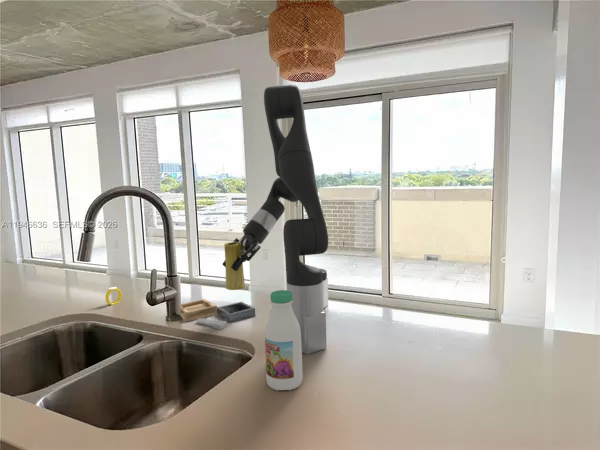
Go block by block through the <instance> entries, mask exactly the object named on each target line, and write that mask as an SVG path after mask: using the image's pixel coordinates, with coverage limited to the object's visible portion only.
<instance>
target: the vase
mask: <svg viewBox="0 0 600 450" xmlns="http://www.w3.org/2000/svg"><path fill="white" fill-rule="evenodd" d="M223 246H224V248H223V249H224V257H225V259H224V261H225V262H226V267H225V289H226V290H228V291H237V290H242V289H245V287H246V285H245V284H246V283H245V276H244V275H245V274H244V265H243V263H244V262H243V263H242V265H241V266H240V267H239V269H238V270H237V271H234V270H233V269H232V268H231V266H232V264H233V263H234V262H235V260H236V259H237V258H239V255H240V250H241V243H240V242H234V241H231V242H225V243H224V245H223Z"/></svg>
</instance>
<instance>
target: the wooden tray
mask: <svg viewBox="0 0 600 450" xmlns="http://www.w3.org/2000/svg"><path fill="white" fill-rule="evenodd" d="M180 304H181V314H182V317H183V318H182V320H184V321H186V322H191V321H194V320H195V321H196V320H197V319H199V318H207V317H210V316H215V315H217V307H218V306H217V305H215V303H214V304H213V303H212V302H210V301H208V300H207V299H205V298H204V299H200V300H194V301H190V302H185V303H180Z"/></svg>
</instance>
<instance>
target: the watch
mask: <svg viewBox="0 0 600 450" xmlns="http://www.w3.org/2000/svg"><path fill="white" fill-rule="evenodd" d="M114 291H117V295H118V296H117V299H116V301H114V302H112V303H111V301H110V294H111V293H112V292H114ZM105 293H106V294H105V295H104V296H105V302H106V303H107V304H108V305H111V306H114V305H117V304H119V303H120V302H121V300H122V296H123V294H122V291H121V290H120V288H118V287H117V286H112V287H109V288H108V290H107V291H106V292H105Z"/></svg>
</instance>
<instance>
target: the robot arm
mask: <svg viewBox="0 0 600 450" xmlns="http://www.w3.org/2000/svg"><path fill="white" fill-rule="evenodd" d="M263 104H264V112H265V116H266V122H267V125H268V126H267V127H268V132H269V137H270V140H271V143H272V149H273V154H274V155H273V156H274V167H275V173H276V175H277V176H278V177H277V178H276V179H275V180H274V181H273V183H272V184H271V185H272V186H271V187H270V190H269V193H268V195H267V197H266V200H265V202H264V203H263V204H262V206H261V207H260V208H259V209H258V210H257V211H256V212H255V214H253V216H252V217H251V219H250V220H249V221H248V223H247V224H246V226H244V228H243V230H242V233H243V234H244V235H243V236H242V237H241V238H240V239H239V238H235V239H234V240H233V242H240V243H241V250H240V255H239V258H237V259H236V260H235V262H234V263H233V264H232V266H231V268H232V269H233V270H234V271H237V270H238V269H239V267H240V266H241V265H242V263H245V262H250V261H251V259H252V258H253V257H254V256H255V255H256V254H257V253H258V252H259V250H261V248H262V247H261V245H262V244H263V243H264V241H265V240H266V238H267V237H268V235H269V234H270V233H271V232H272V231H273V229H274V227H275V225H276V223H277V222H278V220H279V219H280V218H281V217H282V215H283V213H284V212H285V211H286V208H285V204H283V203H282V202H281V201H280V199H284V200H286V201H288V202H292V203H296V202H298V201H299V202H300V204H301V205H302V207H303V209H304V210H305V213H306V215H307V218H294V219H293V218H291V219H287V220H286V221H285V223H284V225H283V235H282V236H283V247H284V257H285V258H284V259H285V272H286V274H285V275H286V290H287V291H290V292H292V296H293V299H292V301H293V302H292V309H293V312H294V314H295V316H296V318H297V320H298V323H299V326H300V331H301V348H302V354H306V355H311V354H312V353H316V352H319V351H321V350H324V349H327V347H328V346H327V314H326V311H324V309H323V275H322V271H321V270H320V269H321V268H320V267H319V268H318V267H316V266H313V265H308V264H306V263H303V262H302V261H301V259H300V256H312V255H313V256H314V255H323V254H325V253H326V252H327V251H328V248H329V233H328V228H327V224H326V220H325V216H324V212H323V208H322V204H321V199H320V197H319V192H318V188H317V187H318V186H317V182H316V181H317V180H316V174H315V167H314V166H315V165H314V163H313V162H314V161H313V155H312V151H311V147H310V143H309V137H308V133H307V132H308V131H307V125H306V118H305V117H306V116H305V108H304V99H303V94H302V91H301V88H300V87H299V85H297V84H284V85H273V86H268V87H266V88H265V89H264V92H263ZM282 119H293V121H292V124H291V127H290V130H289V132H288V134H287V135H285V134H284V132H283V131H282V129H281V127H280V125H279V122H278V120H282ZM222 266H224V268H226V262H225V260H224V261H223V263H222Z"/></svg>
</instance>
